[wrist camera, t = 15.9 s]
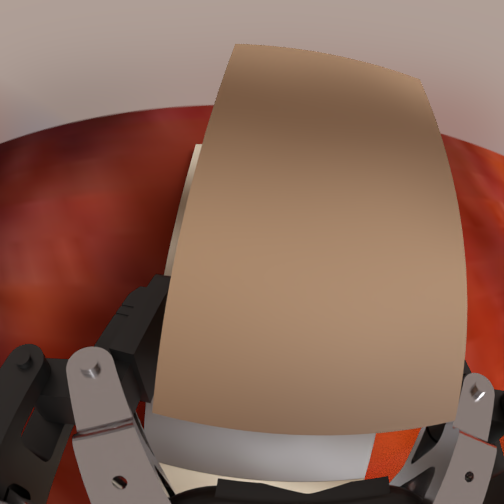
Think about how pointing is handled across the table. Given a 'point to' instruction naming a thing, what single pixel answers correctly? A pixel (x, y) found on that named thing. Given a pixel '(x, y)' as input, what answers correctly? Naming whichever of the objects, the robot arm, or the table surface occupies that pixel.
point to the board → (249, 439)
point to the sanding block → (316, 256)
